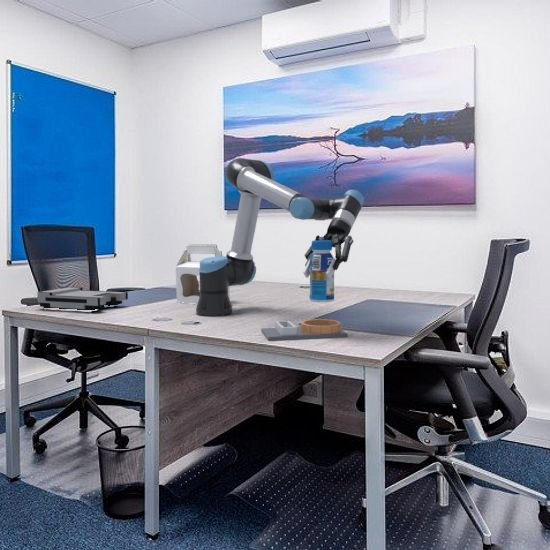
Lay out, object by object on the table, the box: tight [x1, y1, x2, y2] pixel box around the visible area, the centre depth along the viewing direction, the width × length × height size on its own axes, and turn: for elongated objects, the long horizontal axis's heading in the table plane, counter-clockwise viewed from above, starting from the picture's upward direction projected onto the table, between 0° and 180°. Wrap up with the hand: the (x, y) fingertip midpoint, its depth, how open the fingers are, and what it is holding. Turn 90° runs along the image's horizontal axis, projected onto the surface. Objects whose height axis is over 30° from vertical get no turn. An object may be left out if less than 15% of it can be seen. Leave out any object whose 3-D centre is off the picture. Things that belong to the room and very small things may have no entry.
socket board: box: [260, 318, 348, 342], centre depth 170 cm, size 26×14×4 cm, turn 101°
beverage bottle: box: [309, 239, 336, 303], centre depth 169 cm, size 8×8×20 cm
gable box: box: [175, 243, 231, 305], centre depth 243 cm, size 22×13×28 cm, turn 64°
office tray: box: [37, 286, 129, 310], centre depth 229 cm, size 21×32×8 cm, turn 70°
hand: (316, 275), depth 166 cm, fingers closed on beverage bottle, 8 cm apart
